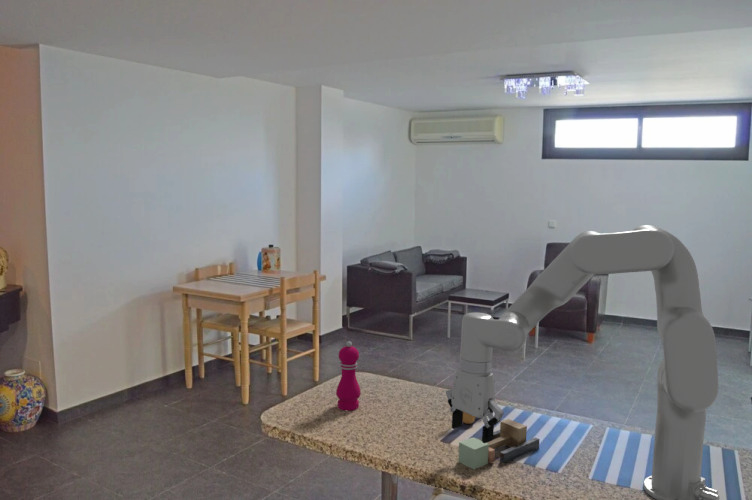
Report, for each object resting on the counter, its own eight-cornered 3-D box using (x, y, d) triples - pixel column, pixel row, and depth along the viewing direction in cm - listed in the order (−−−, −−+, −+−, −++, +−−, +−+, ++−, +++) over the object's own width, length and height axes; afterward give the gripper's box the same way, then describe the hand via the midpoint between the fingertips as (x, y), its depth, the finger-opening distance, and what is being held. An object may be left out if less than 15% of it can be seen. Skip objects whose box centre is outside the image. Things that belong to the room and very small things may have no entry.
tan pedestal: (526, 447, 156) (527, 426, 156) (490, 463, 148) (491, 440, 147) (506, 439, 161) (507, 418, 161) (470, 453, 153) (470, 431, 152)
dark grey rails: (539, 448, 157) (539, 439, 157) (503, 463, 148) (504, 453, 148) (508, 435, 164) (508, 426, 164) (472, 449, 156) (473, 439, 155)
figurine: (471, 429, 168) (473, 387, 166) (450, 426, 170) (451, 384, 168) (477, 418, 175) (479, 378, 174) (457, 415, 178) (458, 375, 176)
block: (487, 463, 148) (488, 444, 148) (474, 469, 145) (474, 449, 144) (472, 456, 152) (473, 437, 151) (458, 462, 149) (459, 442, 148)
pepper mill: (332, 409, 181) (333, 343, 178) (341, 401, 187) (341, 337, 185) (355, 412, 179) (356, 345, 176) (363, 404, 185) (364, 339, 183)
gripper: (438, 358, 150) (435, 425, 152) (493, 378, 137) (489, 451, 139) (459, 353, 155) (456, 419, 157) (515, 372, 141) (510, 443, 143)
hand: (471, 434), depth 148 cm, fingers open, 9 cm apart
